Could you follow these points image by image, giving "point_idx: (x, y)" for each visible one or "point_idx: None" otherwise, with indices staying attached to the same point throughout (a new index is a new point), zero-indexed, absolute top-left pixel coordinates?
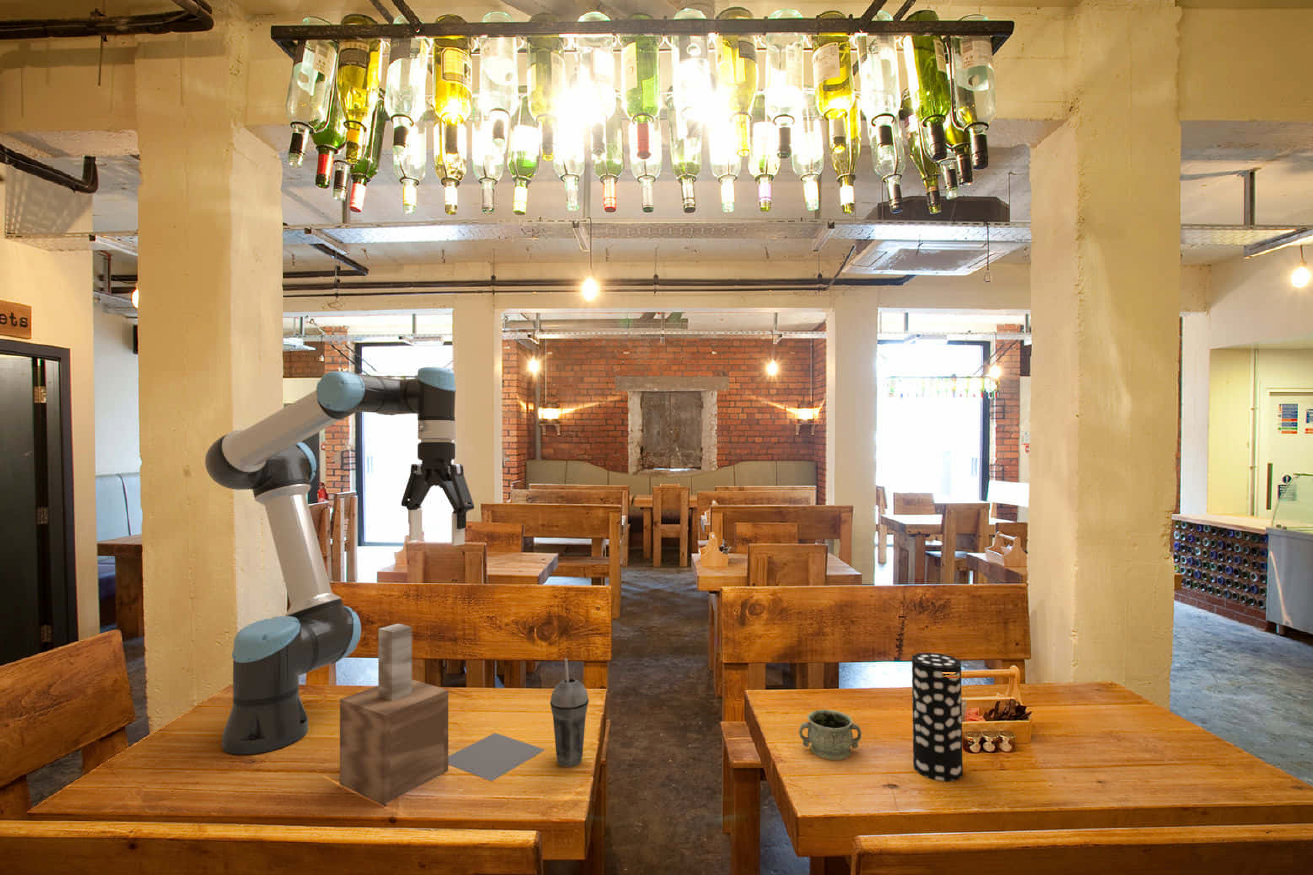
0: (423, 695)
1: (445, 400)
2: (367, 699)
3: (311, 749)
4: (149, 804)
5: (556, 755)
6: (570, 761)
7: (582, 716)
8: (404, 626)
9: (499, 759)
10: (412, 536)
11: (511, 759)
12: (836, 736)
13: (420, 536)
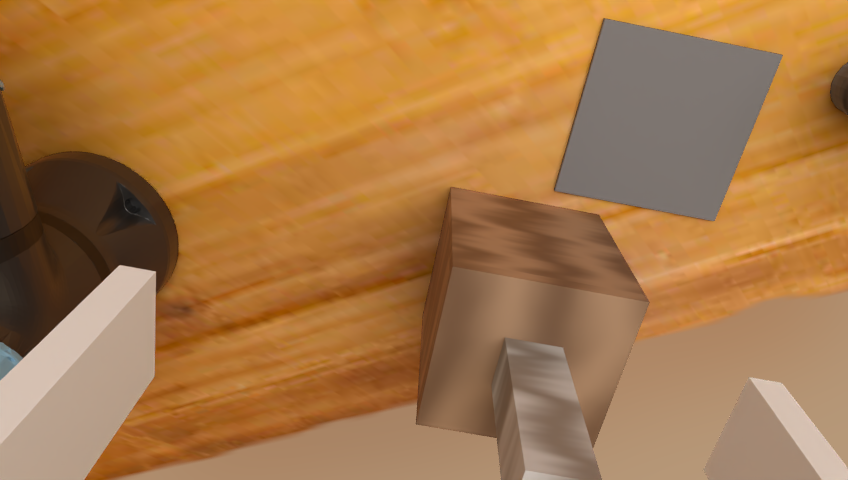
0: (604, 349)
1: None
2: (482, 406)
3: (240, 237)
4: (190, 445)
5: (841, 107)
6: None
7: None
8: None
9: (688, 139)
10: (136, 391)
11: (716, 129)
12: None
13: (141, 304)
